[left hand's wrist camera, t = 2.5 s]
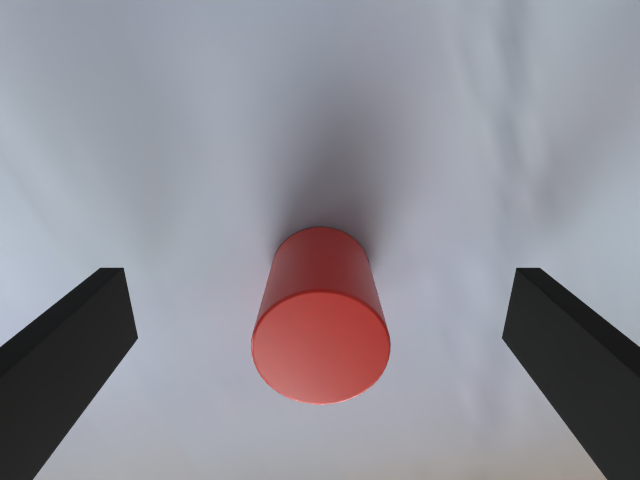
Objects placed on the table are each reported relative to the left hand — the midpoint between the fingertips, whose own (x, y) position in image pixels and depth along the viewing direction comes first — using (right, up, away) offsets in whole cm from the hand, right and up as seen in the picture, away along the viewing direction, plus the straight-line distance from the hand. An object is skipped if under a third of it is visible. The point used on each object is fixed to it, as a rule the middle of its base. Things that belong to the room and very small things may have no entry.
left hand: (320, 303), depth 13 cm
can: (0, +1, +2) cm, 2 cm away
